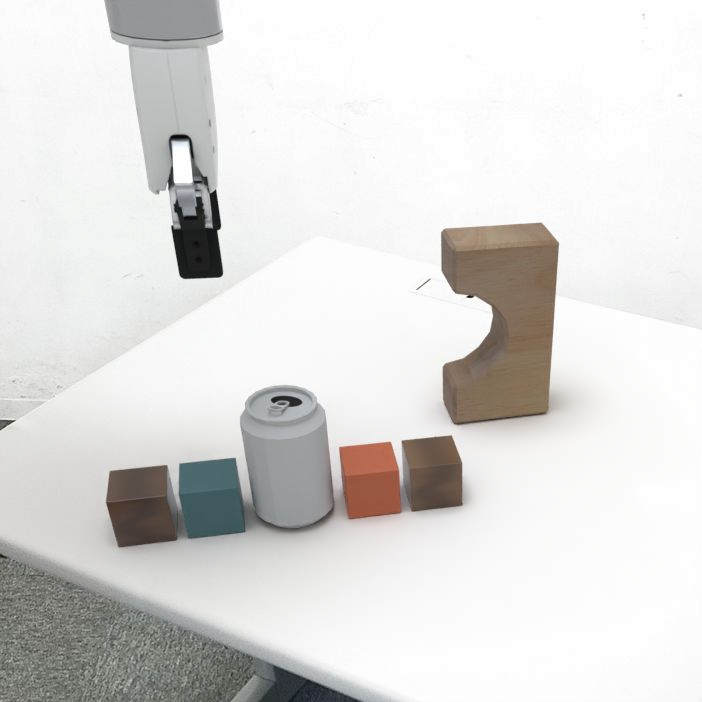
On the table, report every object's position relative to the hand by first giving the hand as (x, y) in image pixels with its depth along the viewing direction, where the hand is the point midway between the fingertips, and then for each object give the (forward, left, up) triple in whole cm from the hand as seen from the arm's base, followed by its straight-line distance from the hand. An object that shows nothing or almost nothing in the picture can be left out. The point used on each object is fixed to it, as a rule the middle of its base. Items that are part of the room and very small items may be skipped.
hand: (202, 252), depth 77 cm
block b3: (+12, -3, -25) cm, 27 cm away
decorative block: (+28, +12, -25) cm, 39 cm away
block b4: (+18, -3, -25) cm, 31 cm away
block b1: (-9, -3, -25) cm, 26 cm away
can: (+5, -3, -25) cm, 25 cm away
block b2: (-3, -3, -25) cm, 25 cm away
